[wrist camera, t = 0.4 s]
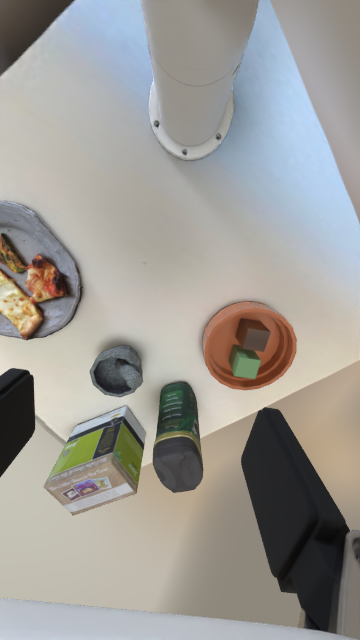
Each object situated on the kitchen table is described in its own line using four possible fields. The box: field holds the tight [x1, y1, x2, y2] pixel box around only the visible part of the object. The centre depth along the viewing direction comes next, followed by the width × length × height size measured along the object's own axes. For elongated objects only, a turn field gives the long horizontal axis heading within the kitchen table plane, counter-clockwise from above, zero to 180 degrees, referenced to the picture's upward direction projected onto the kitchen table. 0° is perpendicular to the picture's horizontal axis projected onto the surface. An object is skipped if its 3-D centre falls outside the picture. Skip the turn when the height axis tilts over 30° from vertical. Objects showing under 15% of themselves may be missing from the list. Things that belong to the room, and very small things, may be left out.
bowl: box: [202, 302, 297, 390], centre depth 45 cm, size 17×17×5 cm
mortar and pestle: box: [90, 345, 143, 397], centre depth 43 cm, size 11×9×12 cm
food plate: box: [0, 201, 82, 340], centre depth 41 cm, size 25×23×4 cm
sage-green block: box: [229, 345, 261, 379], centre depth 45 cm, size 4×4×6 cm
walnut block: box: [236, 318, 271, 352], centre depth 43 cm, size 4×4×6 cm
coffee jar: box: [153, 383, 203, 493], centre depth 44 cm, size 10×8×19 cm
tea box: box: [44, 406, 146, 515], centre depth 49 cm, size 15×10×15 cm, turn 116°
